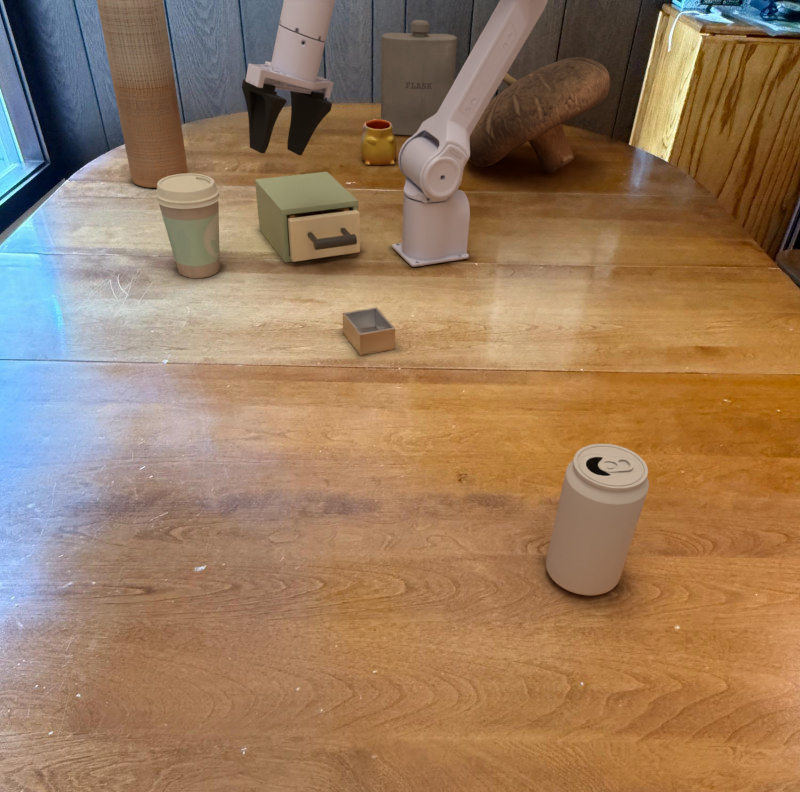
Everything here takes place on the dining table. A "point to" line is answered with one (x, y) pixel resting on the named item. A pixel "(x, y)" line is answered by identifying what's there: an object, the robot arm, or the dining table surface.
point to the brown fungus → (539, 112)
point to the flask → (415, 76)
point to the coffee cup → (191, 222)
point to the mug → (378, 143)
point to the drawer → (323, 233)
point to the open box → (368, 331)
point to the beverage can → (596, 518)
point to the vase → (144, 88)
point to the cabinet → (296, 203)
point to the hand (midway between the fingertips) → (276, 151)
